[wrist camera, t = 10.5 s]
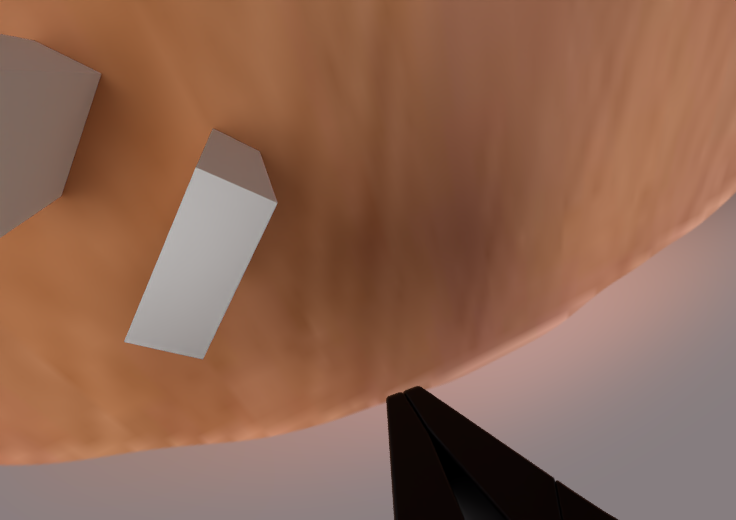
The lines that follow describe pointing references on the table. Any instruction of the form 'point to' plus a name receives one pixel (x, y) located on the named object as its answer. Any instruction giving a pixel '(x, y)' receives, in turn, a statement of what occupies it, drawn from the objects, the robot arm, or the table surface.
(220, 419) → the table surface
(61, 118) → the domino
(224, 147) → the domino
